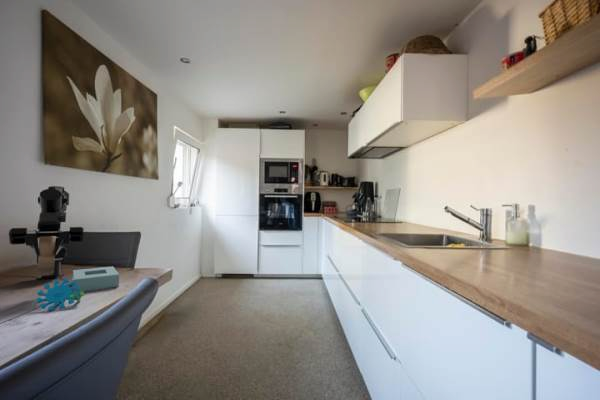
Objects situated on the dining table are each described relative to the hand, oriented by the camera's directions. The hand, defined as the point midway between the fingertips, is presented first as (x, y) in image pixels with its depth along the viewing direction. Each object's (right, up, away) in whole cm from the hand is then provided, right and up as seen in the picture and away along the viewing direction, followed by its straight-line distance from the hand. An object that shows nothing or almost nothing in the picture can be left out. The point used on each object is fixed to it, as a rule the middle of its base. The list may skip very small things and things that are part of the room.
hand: (46, 255), depth 90 cm
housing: (+5, -14, +14) cm, 21 cm away
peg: (-1, -7, +1) cm, 7 cm away
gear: (+12, -14, -8) cm, 20 cm away
